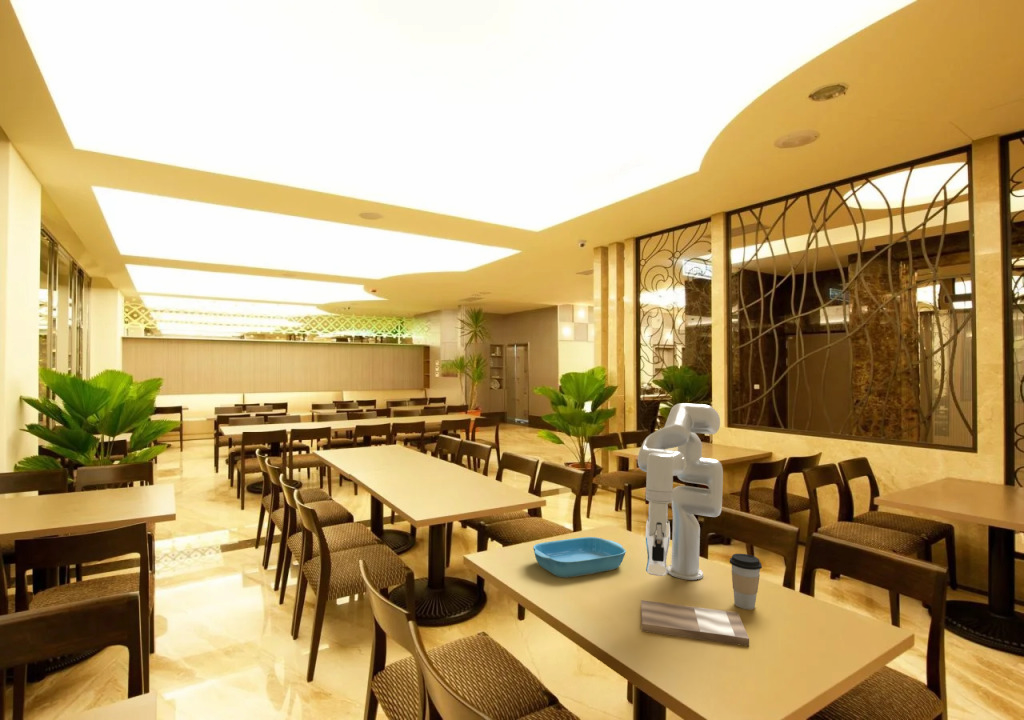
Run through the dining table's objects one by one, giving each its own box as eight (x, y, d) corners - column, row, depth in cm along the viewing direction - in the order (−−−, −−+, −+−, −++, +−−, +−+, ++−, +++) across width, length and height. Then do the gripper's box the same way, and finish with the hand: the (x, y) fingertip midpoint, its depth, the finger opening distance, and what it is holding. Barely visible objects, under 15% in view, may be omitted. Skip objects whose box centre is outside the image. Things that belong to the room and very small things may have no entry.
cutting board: (641, 606, 163) (641, 599, 163) (737, 619, 157) (737, 612, 157) (641, 630, 148) (642, 623, 148) (749, 646, 142) (749, 638, 142)
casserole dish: (599, 550, 215) (599, 532, 215) (637, 569, 195) (637, 550, 195) (521, 563, 197) (521, 544, 197) (554, 586, 177) (555, 564, 177)
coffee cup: (760, 602, 169) (761, 555, 170) (761, 614, 161) (762, 565, 161) (729, 596, 173) (730, 550, 173) (727, 607, 165) (728, 559, 165)
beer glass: (669, 577, 151) (671, 525, 151) (644, 575, 152) (646, 522, 153) (667, 569, 158) (669, 518, 158) (643, 566, 159) (645, 516, 159)
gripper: (645, 488, 165) (643, 546, 164) (646, 501, 148) (644, 565, 147) (670, 490, 163) (668, 548, 163) (674, 503, 146) (672, 568, 146)
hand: (657, 556), depth 155 cm, fingers closed on beer glass, 6 cm apart
